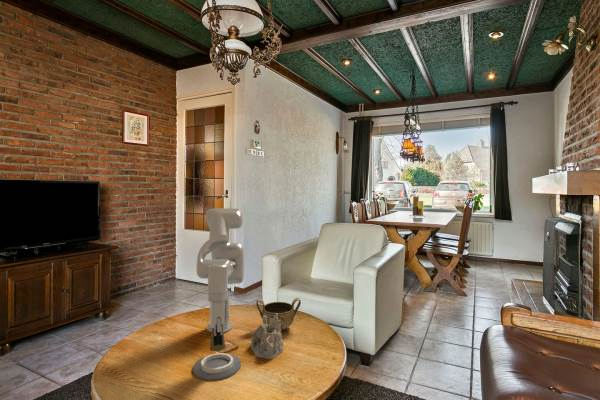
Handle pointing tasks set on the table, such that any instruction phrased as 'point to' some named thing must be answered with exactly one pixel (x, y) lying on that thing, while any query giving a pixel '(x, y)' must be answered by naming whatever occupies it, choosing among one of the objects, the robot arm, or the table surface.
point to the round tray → (216, 366)
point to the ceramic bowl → (279, 311)
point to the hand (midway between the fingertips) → (217, 341)
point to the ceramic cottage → (268, 338)
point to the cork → (218, 347)
